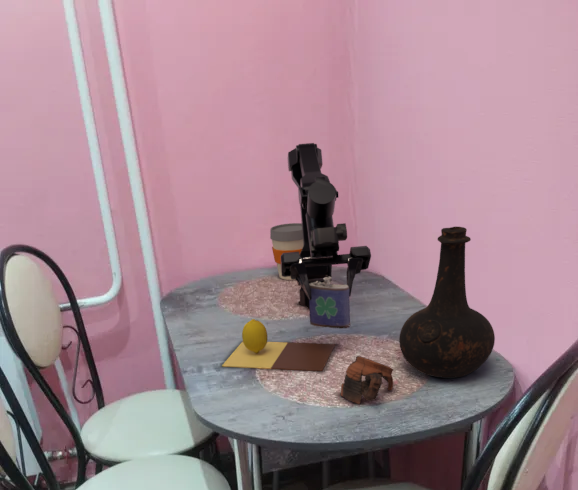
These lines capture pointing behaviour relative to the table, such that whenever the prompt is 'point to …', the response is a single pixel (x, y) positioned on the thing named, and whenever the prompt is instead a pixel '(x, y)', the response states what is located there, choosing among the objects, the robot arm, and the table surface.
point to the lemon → (254, 336)
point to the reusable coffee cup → (286, 242)
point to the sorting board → (282, 356)
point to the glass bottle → (448, 320)
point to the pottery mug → (371, 385)
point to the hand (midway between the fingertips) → (329, 297)
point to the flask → (329, 304)
